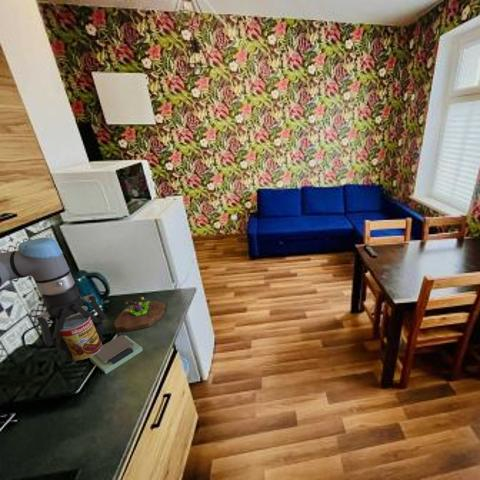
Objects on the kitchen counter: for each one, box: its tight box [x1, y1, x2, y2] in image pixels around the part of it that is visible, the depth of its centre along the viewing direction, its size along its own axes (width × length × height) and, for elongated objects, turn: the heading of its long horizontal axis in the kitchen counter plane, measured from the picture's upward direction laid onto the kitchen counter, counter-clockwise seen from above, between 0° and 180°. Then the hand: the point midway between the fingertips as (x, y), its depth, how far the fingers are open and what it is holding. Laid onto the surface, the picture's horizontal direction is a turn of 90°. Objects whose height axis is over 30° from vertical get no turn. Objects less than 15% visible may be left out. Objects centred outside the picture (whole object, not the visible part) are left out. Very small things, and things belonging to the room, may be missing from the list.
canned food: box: [60, 314, 103, 361], centre depth 85 cm, size 8×8×12 cm
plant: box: [113, 296, 167, 333], centre depth 126 cm, size 20×20×11 cm
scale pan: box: [94, 334, 135, 364], centre depth 104 cm, size 10×10×1 cm
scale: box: [89, 335, 144, 375], centre depth 105 cm, size 13×13×5 cm
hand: (86, 347), depth 87 cm, fingers closed on canned food, 8 cm apart
